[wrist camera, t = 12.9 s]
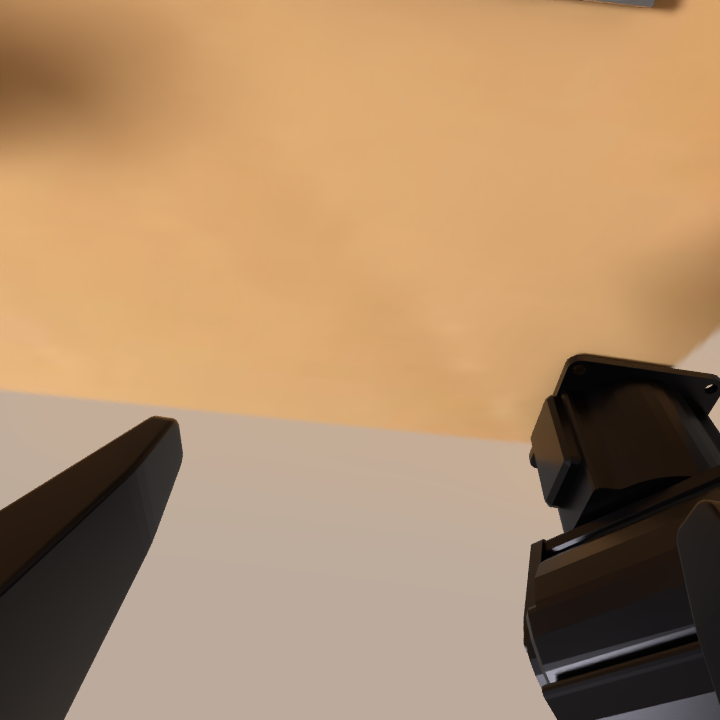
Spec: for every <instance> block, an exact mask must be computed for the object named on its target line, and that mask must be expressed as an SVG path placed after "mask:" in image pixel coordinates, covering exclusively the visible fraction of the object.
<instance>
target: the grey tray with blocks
mask: <svg viewBox="0 0 720 720" xmlns="http://www.w3.org/2000/svg"><path fill="white" fill-rule="evenodd" d="M582 1H590V2H599V3H608V4H616V5H625V6H634V7H653V4H654V1H655V0H582Z"/></svg>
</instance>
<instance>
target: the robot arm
mask: <svg viewBox="0 0 720 720" xmlns="http://www.w3.org/2000/svg"><path fill="white" fill-rule="evenodd" d="M578 365H582V368H580V369H577V370H575V369H574V367H576V366H578ZM711 384H713V385H712V386H711V387H709V388H706V387H707V386H708V385H711ZM719 397H720V378H719V377H718V376H717V375H714V374H708V373H701V372H694V371H687V370H680V369H673V368H666V367H659V366H652V365H645V364H638V363H632V362H625V361H618V360H611V359H604V358H597V357H590V356H583V355H576V356H573V357H571V358H569V359H568V360H567V361H566V363H565V365H564V368H563V370H562V373H561V375H560V378H559V380H558V383H557V386H556V388H555V391H554V393H553V395H550V396H549V397H548V398H546V400H545V402H544V405H543V407H542V410H541V412H540V415H539V417H538V420H537V423H536V425H535V428H534V430H533V433H532V436H531V442H532V449H531V451H530V454H529V459H530V463H531V465H532V466H533V467H534V468H537V469H538V473H539V477H540V482H541V486H542V491H543V495H544V499H545V502H546V503H547V504H548V506H549V507H554V508H558V511H559V515H560V519H561V523H562V527H563V531H564V533H563V534H560V535H558V536H556V537H554V538H551V539H549V540H547V541H546V540H544V539H543V540H540V541H538V542H536V543H533V544H532V545H531V551H530V561H529V571H528V581H527V591H526V601H525V611H524V646H525V649H526V651H527V653H528V656H529V659H530V662H531V665H532V668H533V670H534V673H535V676H536V678H537V680H538V682H539V684H540V686H541V688H542V693H543V696H544V698H545V700H546V701H547V703H548V705H549V706H550V708H551V710H552V711H553V713H554V715H555V716H556V718H557V720H720V433H719V431H718V430H717V428H716V427H715V425H714V424H713V422H712V421H711V419H710V418H709V416H708V414H709V413H710V411H711V409H712V408H713V406H714V405H715V403H716V402H717V400H718V398H719ZM182 457H183V451H182V444H181V437H180V430H179V424H178V422H177V420H175V419H173V418H167V417H161V416H153V417H150V418H149V419H147V420H145V421H143V422H142V423H140V424H139V425H137V426H136V427H134V428H132V429H131V430H129V431H128V432H126V433H124V434H123V435H121V436H119V437H118V438H116V439H114V440H113V441H111V442H110V443H108V444H106V445H105V446H103V447H102V448H100V449H98V450H97V451H95V452H94V453H92V454H90V455H89V456H87V457H85V458H84V459H82V460H81V461H79V462H78V463H76V464H74V465H73V466H71V467H69V468H68V469H66V470H64V471H63V472H61V473H60V474H58V475H56V476H55V477H53V478H52V479H50V480H48V481H47V482H45V483H44V484H42V485H41V486H39V487H37V488H35V489H34V490H32V491H31V492H29V493H28V494H26V495H24V496H23V497H21V498H19V499H18V500H16V501H15V502H13V503H11V504H10V505H8V506H7V507H5V508H3V509H2V510H0V720H64V719H65V717H66V714H67V713H68V711H69V708H70V707H71V705H72V703H73V700H74V699H75V697H76V695H77V692H78V691H79V689H80V686H81V684H82V682H83V681H84V679H85V676H86V674H87V673H88V671H89V669H90V667H91V665H92V663H93V661H94V658H95V657H96V654H97V653H98V651H99V649H100V646H101V645H102V642H103V640H104V639H105V636H106V635H107V633H108V630H109V629H110V627H111V625H112V623H113V620H114V619H115V617H116V615H117V613H118V610H119V609H120V607H121V604H122V603H123V601H124V599H125V597H126V595H127V593H128V590H129V589H130V587H131V585H132V582H133V581H134V579H135V577H136V575H137V573H138V571H139V569H140V567H141V564H142V563H143V561H144V559H145V556H146V555H147V552H148V550H149V548H150V546H151V544H152V541H153V539H154V536H155V534H156V531H157V529H158V526H159V523H160V521H161V518H162V515H163V512H164V510H165V507H166V504H167V502H168V499H169V496H170V493H171V491H172V488H173V485H174V482H175V480H176V477H177V474H178V472H179V469H180V466H181V463H182Z"/></svg>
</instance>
